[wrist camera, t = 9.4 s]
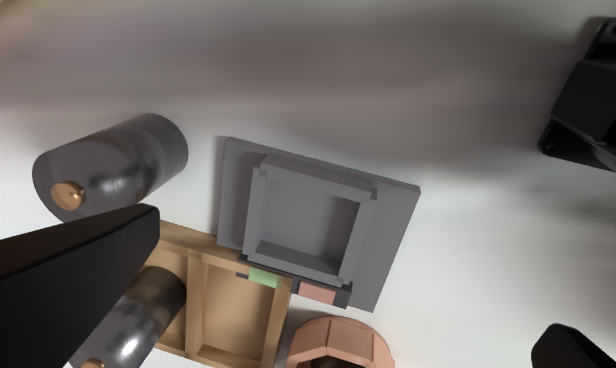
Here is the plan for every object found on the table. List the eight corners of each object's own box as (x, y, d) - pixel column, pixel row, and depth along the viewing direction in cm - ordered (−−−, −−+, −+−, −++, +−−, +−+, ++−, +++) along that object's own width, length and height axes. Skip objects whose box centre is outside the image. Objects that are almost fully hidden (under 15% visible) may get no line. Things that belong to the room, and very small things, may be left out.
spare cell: (189, 123, 21) (102, 168, 15) (187, 183, 23) (110, 246, 17) (125, 106, 22) (13, 143, 15) (129, 167, 24) (32, 223, 17)
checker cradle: (419, 186, 20) (423, 204, 18) (372, 304, 25) (371, 328, 23) (230, 137, 21) (214, 148, 19) (219, 258, 26) (205, 277, 24)
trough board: (299, 260, 24) (292, 279, 23) (275, 363, 30) (268, 385, 28) (122, 209, 26) (103, 222, 24) (130, 317, 31) (115, 334, 29)
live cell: (188, 275, 26) (119, 361, 19) (187, 314, 28) (125, 404, 22) (136, 259, 27) (53, 339, 20) (139, 299, 29) (65, 383, 22)
